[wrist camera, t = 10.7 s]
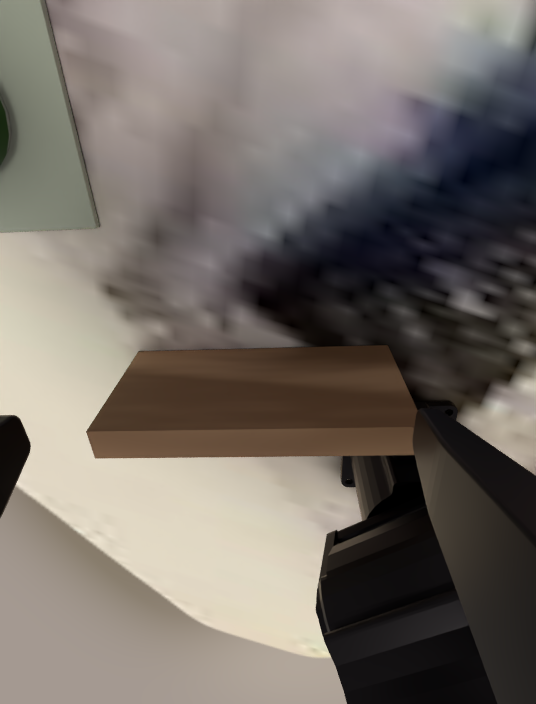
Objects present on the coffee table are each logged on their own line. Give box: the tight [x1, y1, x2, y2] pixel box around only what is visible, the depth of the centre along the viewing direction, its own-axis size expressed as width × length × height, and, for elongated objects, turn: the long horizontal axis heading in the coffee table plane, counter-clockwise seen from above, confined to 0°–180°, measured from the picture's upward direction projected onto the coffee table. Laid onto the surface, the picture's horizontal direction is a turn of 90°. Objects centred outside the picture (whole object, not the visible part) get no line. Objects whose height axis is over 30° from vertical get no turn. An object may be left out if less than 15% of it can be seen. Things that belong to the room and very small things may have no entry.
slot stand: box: [86, 345, 417, 458], centre depth 14 cm, size 27×14×7 cm, turn 3°
